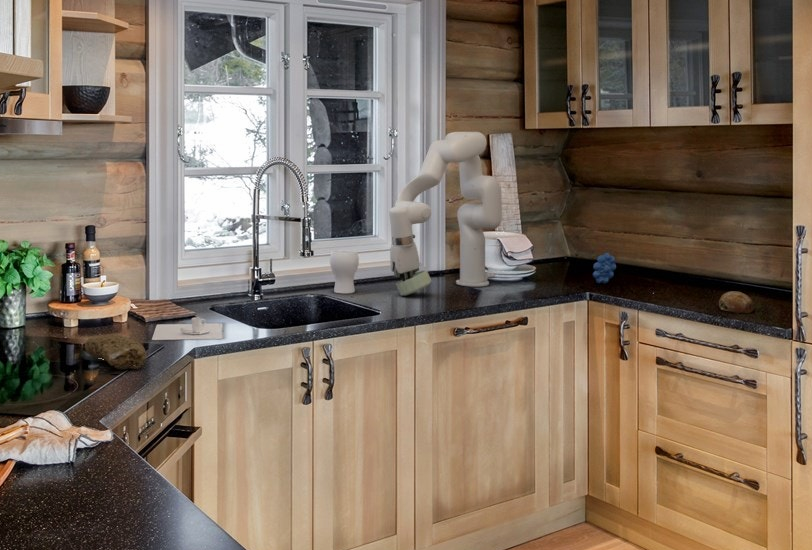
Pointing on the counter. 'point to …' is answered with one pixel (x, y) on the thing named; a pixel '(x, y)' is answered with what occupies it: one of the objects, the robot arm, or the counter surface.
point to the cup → (344, 269)
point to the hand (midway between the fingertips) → (408, 289)
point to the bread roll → (736, 302)
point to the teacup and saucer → (188, 331)
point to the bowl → (414, 283)
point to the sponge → (116, 350)
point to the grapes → (604, 268)
